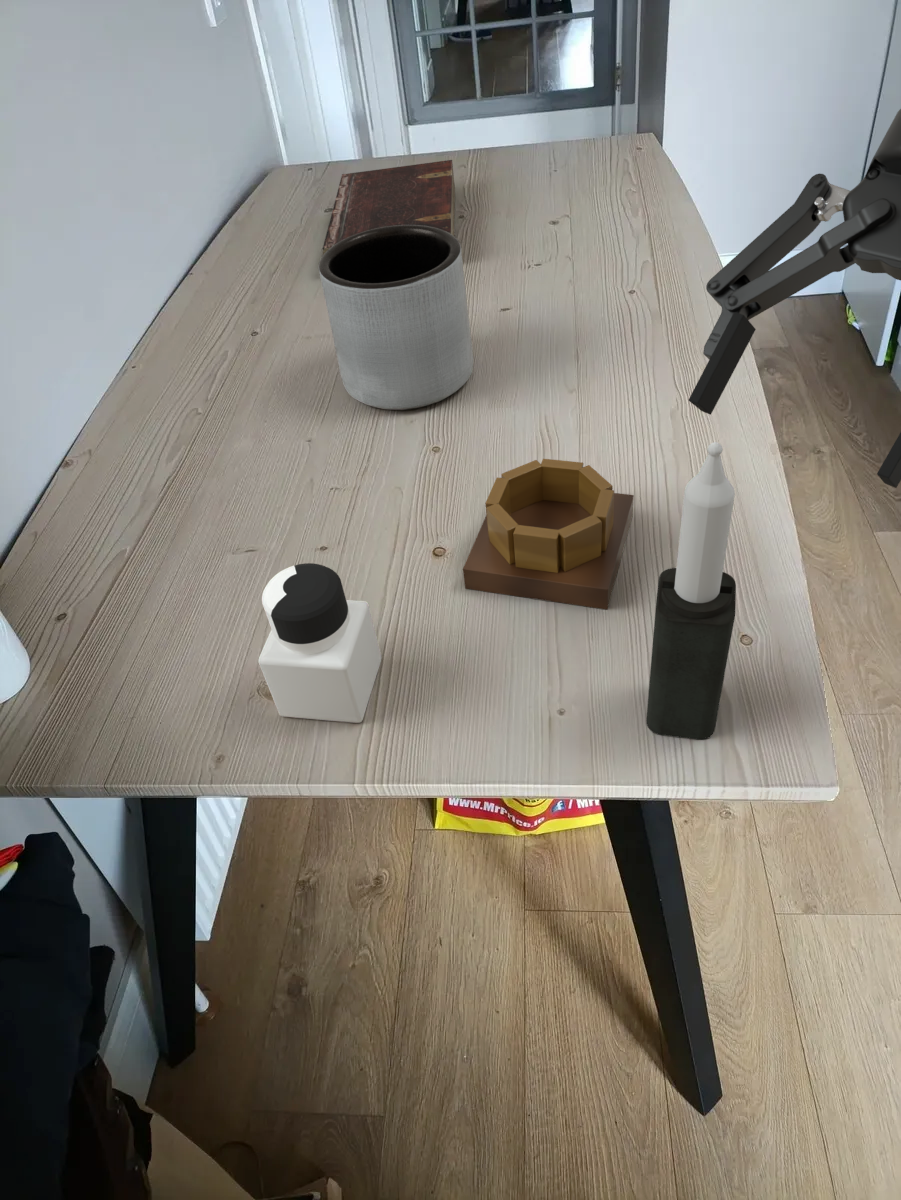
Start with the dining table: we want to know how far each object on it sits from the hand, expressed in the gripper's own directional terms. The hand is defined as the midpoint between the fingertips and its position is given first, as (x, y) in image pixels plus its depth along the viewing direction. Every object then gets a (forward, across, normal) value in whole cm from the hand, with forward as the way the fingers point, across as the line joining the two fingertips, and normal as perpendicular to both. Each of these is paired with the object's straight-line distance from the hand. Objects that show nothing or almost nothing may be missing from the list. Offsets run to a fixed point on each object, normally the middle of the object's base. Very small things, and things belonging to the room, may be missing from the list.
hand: (786, 442), depth 58 cm
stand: (+15, +20, -13) cm, 28 cm away
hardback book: (-13, +88, -42) cm, 98 cm away
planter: (+7, +54, -22) cm, 58 cm away
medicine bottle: (+32, +23, +4) cm, 40 cm away
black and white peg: (+21, 0, -8) cm, 22 cm away
